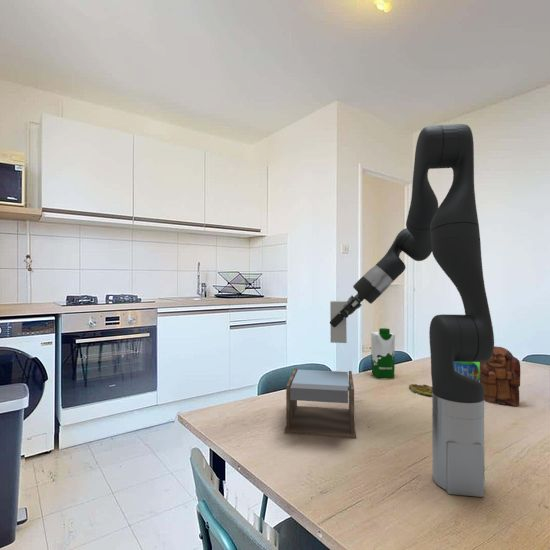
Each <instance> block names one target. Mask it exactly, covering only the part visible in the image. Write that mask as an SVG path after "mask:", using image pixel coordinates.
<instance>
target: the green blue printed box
mask: <svg viewBox="0 0 550 550" xmlns="http://www.w3.org/2000/svg"><path fill="white" fill-rule="evenodd" d="M453 364H454V370H455V371H456V372H458V373H459V374H461V375H464V376H467V377H470V378H472V379H475V380H477V381H479V382H480V372H481V371H480V362H458V361H453Z"/></svg>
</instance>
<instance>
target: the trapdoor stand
mask: <svg viewBox="0 0 550 550" xmlns="http://www.w3.org/2000/svg"><path fill="white" fill-rule="evenodd" d="M297 370H298V368H297V367H296V368H294V369H293V371H292V373H291V374H290V377H289V379H288V381H287V383H286V387H285V388H286V389H285V391H286V393H285V394H286V396H285V397H286V398H285V399H286V402H285V403H286V405H285V409H286V410H285V413H286V414H285V417H286V418H285V420H286V421H285V422H286V423H285V428H284V434H293V435H306V436H317V437H318V436H320V437H329V438H330V437H333V438H344V439H345V438H347V439H357V429H356V423H355V386H354V379H353V372H352V370H348V380H349V391H348V408H338V407H337V408H336V407H334V408H333V407H321V406H320V407H319V406H304V405H298V400H290V387H291V385H292V382H293V379H294V377H295V375H296V373H297Z"/></svg>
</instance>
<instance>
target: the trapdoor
mask: <svg viewBox="0 0 550 550" xmlns="http://www.w3.org/2000/svg"><path fill="white" fill-rule="evenodd" d="M290 400H297V401H300V402H302V401H303V402H320V403H336V404H338V403H339V404H349V371H341V370H340V371H338V370H337V371H333V370H314V369H297V373H296V375H295V377H294V379H293V382H292V385H291V387H290Z"/></svg>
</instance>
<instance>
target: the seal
mask: <svg viewBox="0 0 550 550" xmlns="http://www.w3.org/2000/svg"><path fill="white" fill-rule="evenodd" d="M408 387H409V388H408V389H409V391H410V390H411V391H410V392H412V393H413V392H414V393H413V394H416V393H417V395H418V396H419V395H420V396H424V397H427V398H432V386H430V385H427V384H423V385H422V384H416V383H414V384H412V383H411V384H409V385H408Z"/></svg>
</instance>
